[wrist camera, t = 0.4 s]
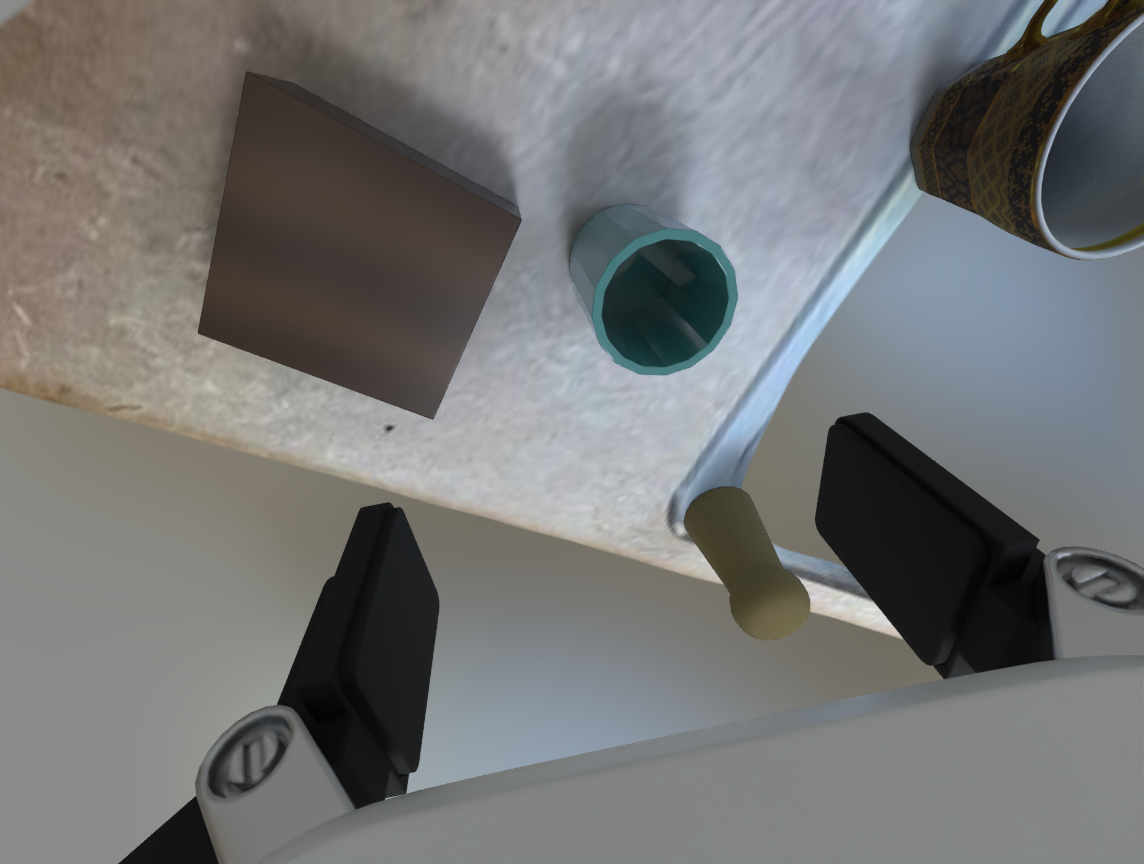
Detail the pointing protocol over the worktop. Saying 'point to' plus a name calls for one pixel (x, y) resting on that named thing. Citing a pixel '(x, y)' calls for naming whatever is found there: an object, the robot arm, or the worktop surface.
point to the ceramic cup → (1048, 136)
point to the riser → (349, 250)
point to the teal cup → (652, 289)
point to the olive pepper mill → (747, 564)
